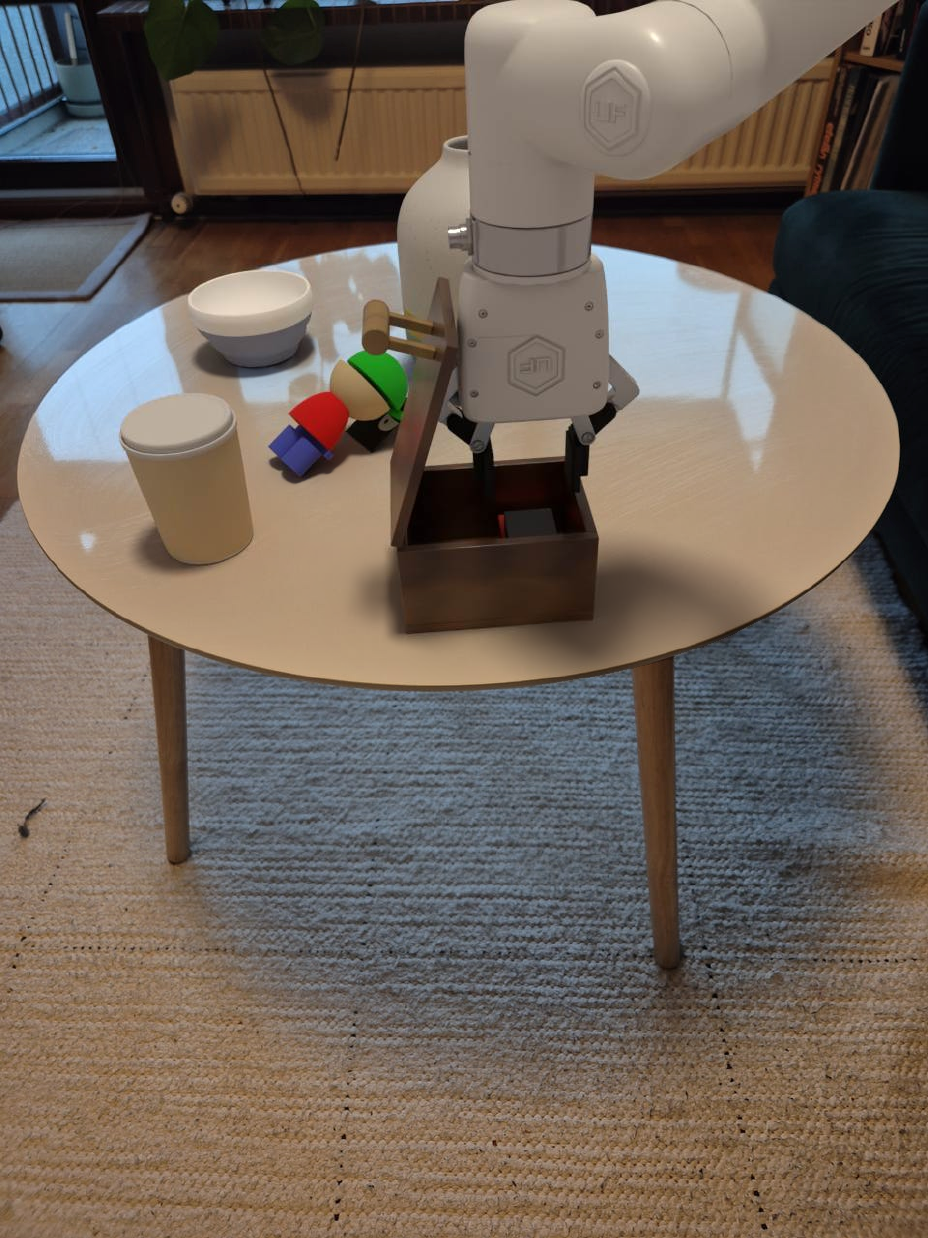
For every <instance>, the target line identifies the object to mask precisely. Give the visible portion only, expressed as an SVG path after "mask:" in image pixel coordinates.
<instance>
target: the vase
mask: <svg viewBox="0 0 928 1238" xmlns="http://www.w3.org/2000/svg"><path fill="white" fill-rule="evenodd" d="M469 209H470V189H469V162H468V136H467V134H466V135H460V136H456V137H452V138H449V139H447V140H446V141H444V143H443V144H442V152H441V156H440V158H439V159H438V160H437V162H436V163H435V164H434V165H432V166H431V167H430V168H429V169H428V170H427V171H426V172H425V173H423V175H421V177H419V178H418V180H416V181H415V182H414V184H413V185H412V186H411V187H410V189H409V190H408V192H407V193H406V195H405V197H404V198H403V201H402V204H401V207H400V210H399V214H398V219H397V225H396V226H397V227H396V241H397V243H396V245H397V256H398V267H399V278H400V279H399V280H400V289H401V301H402V312H403V315H406V316H410V317H414V318H418V319H422V320H426V321H427V318H428V314H429V310H430V306H431V303H432V299H433V295H434V291H435V287H436V283H437V279H438V277H442V278H446V279H449V284H450V291H451V298H452V305H453V312H454V319H455V326H456V332H457V312H458V297H459V287H460V280H461V274H462V268H463V264H464V262H465V261H466V260H467V259H469V258H470V257H472V256H468V252H467V251H461V249H451V250H449V240H448V227H455V226H460V224H463V223H466V218H470V210H469ZM404 331H405V337H406V338H405V340H409V341H413V342H418V343H421V341H422V337H423V333H420V332H416V331H412V330H408V329H404ZM410 357H411V360H412V362H413V364H414V365H415V364H416V360H417V356H413V355H410ZM456 393H459V391H458V390H457V392H456Z"/></svg>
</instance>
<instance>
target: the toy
mask: <svg viewBox="0 0 928 1238" xmlns="http://www.w3.org/2000/svg"><path fill="white" fill-rule="evenodd" d="M408 391H409V384H408V377H407V374H406V371H405V369H404V367H403V365H402V364H401V363H400V362H399V361H398V360H397V359H396V358H395V357H394V356H393V355H391V354H390V353H388V352H387V351H386V352H385V353H384V354H382V355H378V356H374V355H370V354H368V353H367V352H366V351H365V350H364V349H363V350H361V351H358V352H355V353H354V354H353V355H351V356H350V357H349V358H348V359H347V360H346V361H345V360H343V359H341V358H340V359H339V360H338V361H337V362H336V364H335V365H334V367H333V369H332V371H331V374H330V377H329V391H321V392H318V393H316V394H312V395H311V396H309V397H307V398H306V399H303V400H302V401H301V402H300V403H298V404H297V405H295V407H294V408H292V409H291V410H290V411H289V412H288V413H287V414H288V415H289V416H290V417H291V419H293V421H294V422H295V423H297V424H298V425H297V426H296V427H293V426H292V425H291V424H290V423H289V424H288V425H287V426H286V427H285V428H284V429H283V430H282V431H281V432H280V433H279V434H278V435H277V436H276V437H275V438H274V439H273V440H272V442H271V443H270V444H269V445H267V448H269V450H270V451H272V452H273V453H274V454H275V455H276V456H277V457H278V458H279V459H280V460H281V461H282V462H283V463H284V464H285V465H287V466H288V468H289V469H290V470H292V471H293V472H294V473H295V474H296V475H297V476H298V477H299V478H301V477H302V476H303V475H304V474H305V473H306V472H307V471H308V470H309V469H310V468H311V467H312V466H313V464H315V463H316V462H317V460H318V459H319V458H320V457H321V456H323V457H324V458H325V459H326V460H327V461H330V460H332V458H333V457H334V454H333V453H332V452H331V451H332V450H333V448H335V446H336V445H337V444H338V442H339V441H340V439H341V438H342V436H343V434H344V432H345V433H346V434H347V435H349V437H350V438H352V439H353V440H354V441H356V442H357V443H359V445H361V446H362V448H364V449H366V450H367V451H368V452H369V453H371V454H373V452H374V451H375V450H376V449H377V448H378V447H379V446H380V445H381V444H383V442H384V441H385V440H386V439H387V437H389V435H391V433H393V432H394V430H395V429H397V427H399V426H400V422H401V418H402V414H403V411H404V407H405V403H406V399H407V395H408ZM349 418H350V419H353V420H355V421H353V423H352V424H351V425H349V427H348V428H347V429H346V427H347V425H348V422H349Z"/></svg>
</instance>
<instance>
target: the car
mask: <svg viewBox="0 0 928 1238" xmlns="http://www.w3.org/2000/svg"><path fill="white" fill-rule="evenodd" d="M544 535H557V530H556V526H555V522H554V518H553V514H552V510H551V508H545V509H532V510H518V511H505V512H504V515H498V537H499V538H498V539H504V538H517V537H531V536H544Z"/></svg>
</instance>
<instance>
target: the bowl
mask: <svg viewBox="0 0 928 1238" xmlns="http://www.w3.org/2000/svg"><path fill="white" fill-rule="evenodd" d="M314 305H315V304H314V294H313V290H312V286H311V284H310V281H309V280H308V279H307V278H306V277H304V276H302V275H300V274H298V273H295V272H293V271H287V270H279V269H255V270H254V269H253V270H245V271H237V272H233V273H229V274H225V275H222V276H221V275H220V276H218V277H215V278H212V279H210V280H207V281H205V282H202V284H199V285H198V286H196V287H195V288H194V289H193V290H192V291H191V292H190V293H189V294H188V297H187V307H188V313H189V316H190V319H191V322H192V324H193V325H194V327H195V328H196V329H197V330H198V332H199V333H200V334H201V336H202V337H203V338H205V339H206V341H208V342H209V345H210V346H211V347H212V348H213V349H215V350H216V351H217V352H218V353H220V354H222V356H223V357H224V358H225V360H226V361H228V362H229V363H230V364H233V365H235V366H239V367H244V368H263V367H270V366H273V365H277V364H280V363H282V362H284V361H287V360H288V359H290V358H291V357H292V356H293V355H295V354H296V353H297V351H298V348H299V343H300V342H301V340H302V339H303V338H304V336H305V334H306V332H307V326H308V324H309V323H310V321H311V318H312V313H313V310H314Z"/></svg>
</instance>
